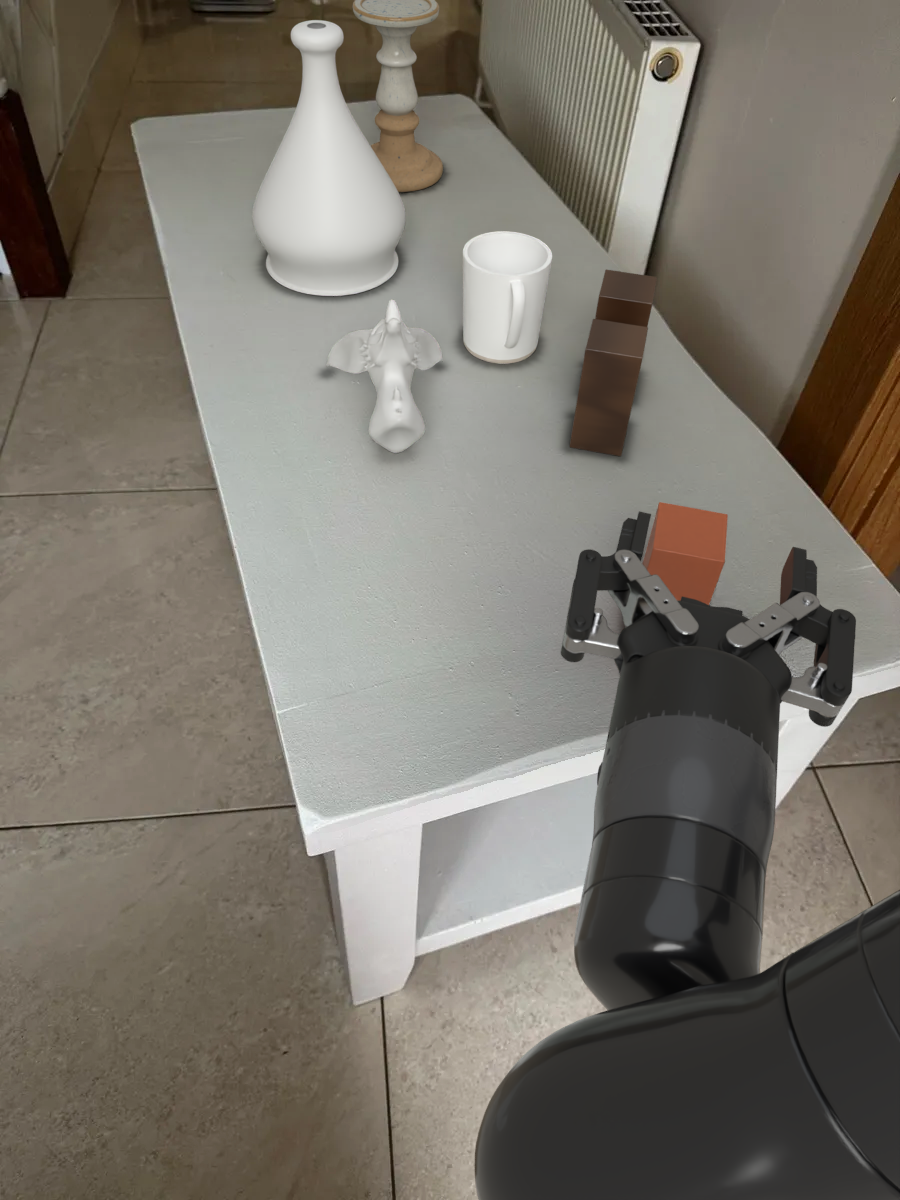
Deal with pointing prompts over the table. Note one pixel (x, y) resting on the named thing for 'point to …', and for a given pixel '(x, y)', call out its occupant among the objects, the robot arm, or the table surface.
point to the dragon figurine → (390, 374)
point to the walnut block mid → (607, 386)
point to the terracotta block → (687, 550)
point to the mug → (504, 295)
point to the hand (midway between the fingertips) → (716, 540)
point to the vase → (327, 187)
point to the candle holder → (400, 91)
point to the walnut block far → (626, 298)
